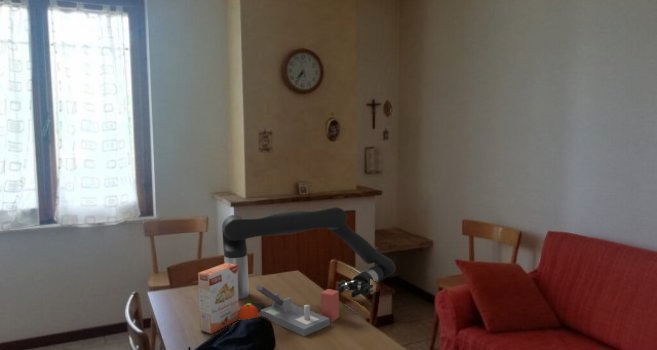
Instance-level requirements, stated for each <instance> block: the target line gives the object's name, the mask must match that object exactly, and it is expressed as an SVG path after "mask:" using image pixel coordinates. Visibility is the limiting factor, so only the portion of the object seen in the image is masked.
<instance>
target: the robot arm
mask: <svg viewBox="0 0 657 350" xmlns="http://www.w3.org/2000/svg"><path fill="white" fill-rule="evenodd" d="M347 219H348V215H347V213H346V212H345V210H344V209H342V208H340V207H337V206H333V207H330V208H326V209H325V208H323V209H320V210H313V211H312V210H306V211H305V210H302V211H301V210H298V211H281V212H276V213H272V214H269V215H265V216H263V217H259V218H242V217H241V216H239V215H237V214H236V215H235V214H231V215H229V216H227V217H226V218H224V220H223V223H222V227H221V228H222V247H223V259H224V261H223V262H224V263H230V264H235V265H237V268H238V300H242V299H243V300H244V299H247V298H248V297H249V295H250V294H249V293H250V292H249V269H248V268H249V267H248V266H249V265H248V247H247V241H246V239H251V238H256V237H266V236H267V237H268V236H269V237H270V236H280V235H281V236H282V235H291V234H297V233H302V232H307V231H311V230H315V229H328V230H330V232H332V233H333V234H335V235H336V236H338V237H339V238H340V239H341V240H342V241H344V243H345V244H346V245H348V247H350V248H351V249H352V251H354V252H355V253H356V255H358V257H359V258H360V259H361V260H362V261H363V262H364V263H365V264H367V265H370V264H374V263H375V265H373V266H371V267H369V268H368V269H365V270H363V271H361V272H359V273H357V274H356V275H354V277H353V278H352V279H351V280H349V281H346V279H342V280H341V281H340V282H338V283H337V288H336V289H335V290H336V291H339V295H341V294H342V293H344V292H351V293H350V294H351V295H350V296H351V298H353V299H354V298H355V297H358V296H361V295H362V296H367V295H369V294H371V293H373V292H374V287H373V285H370V279H372V280H374V281H376V282H377V284H379V283H380V282H382V281H383V280H385V279H387V278H388V277H389V276H391V275H393V274H394V273H395V271H396V264H395V262H394V261H393V260H392V259H391V258H389V257H387V256H386V255H384V254H383V253H381V252H379V251H378V250H376V249H375V248H374V246H372V245H371V243H369V242H368V241H367V240H366V239H365V238H364V237H363V236H361V235H360V234H358V233H357V232H356V231H354V230H353V229H352V228H350V226H349V225H348V224H347V223H346V222H347Z"/></svg>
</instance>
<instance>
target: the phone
mask: <svg viewBox="0 0 657 350" xmlns="http://www.w3.org/2000/svg"><path fill="white" fill-rule="evenodd" d="M250 303H251V304H252V305H254V306H255V307H256V308H257V310H258V313H259V312H260V310H262V309H265V308H266V307H265V306H266V304H263V303H254V302H250Z"/></svg>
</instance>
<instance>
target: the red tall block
mask: <svg viewBox="0 0 657 350" xmlns="http://www.w3.org/2000/svg"><path fill="white" fill-rule="evenodd" d="M339 295H340V294H339V291H336V289H332V288H327V289H325V290H324V291H322V292H320V306H321V308H320V311H321V313H320V315H322V316H325V317H327V318H330V323H334V322H335V321H336V320H338V319H339V318H340V303H339V302H340V299H339V298H340V297H339Z"/></svg>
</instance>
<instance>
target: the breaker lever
mask: <svg viewBox="0 0 657 350" xmlns="http://www.w3.org/2000/svg"><path fill="white" fill-rule="evenodd" d="M255 290H256V291H258V292H259V293H261V294H262V295H264V296H265V297H266V298H268V299H269V300H271V302H272V301H273V302H275V303H276V304H277V305H279V306H282V307H283V300H282V299H281V298H280V299H279V298H278V297H277V296H275V295H274V294H275V293H272V292H271V291H270V290H268V289H267V288H266V287H265V286H263V285H260V284H258V285H257V286H256V288H255Z"/></svg>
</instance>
